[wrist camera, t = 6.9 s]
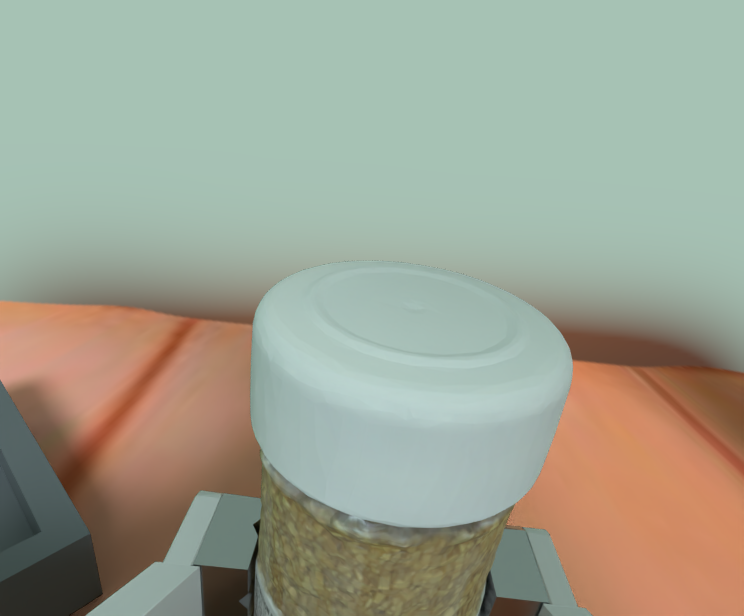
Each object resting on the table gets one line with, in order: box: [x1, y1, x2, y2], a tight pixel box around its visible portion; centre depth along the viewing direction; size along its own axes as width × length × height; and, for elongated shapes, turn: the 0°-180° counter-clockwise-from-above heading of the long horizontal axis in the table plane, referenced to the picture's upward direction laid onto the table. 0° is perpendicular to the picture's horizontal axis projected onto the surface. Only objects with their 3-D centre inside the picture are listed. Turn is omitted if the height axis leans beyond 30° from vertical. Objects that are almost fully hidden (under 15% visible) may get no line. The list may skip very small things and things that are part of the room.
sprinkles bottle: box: [250, 261, 573, 616], centre depth 9 cm, size 5×5×14 cm
